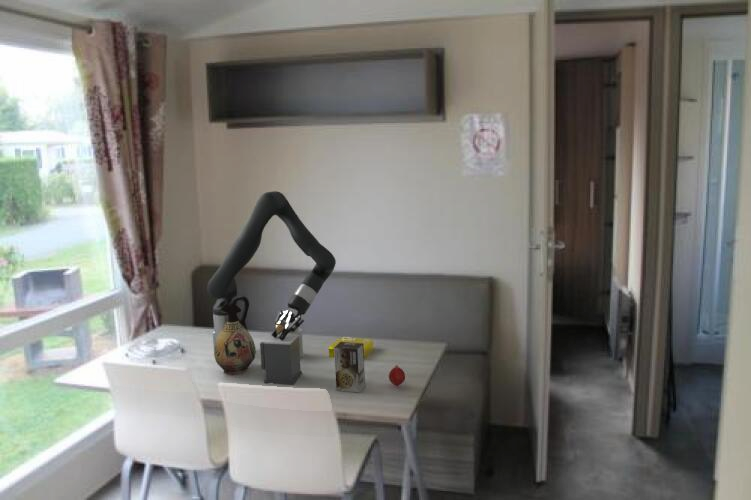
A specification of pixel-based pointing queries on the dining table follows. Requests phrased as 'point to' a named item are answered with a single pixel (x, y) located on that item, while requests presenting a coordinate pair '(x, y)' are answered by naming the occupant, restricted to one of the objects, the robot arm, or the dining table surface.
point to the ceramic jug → (234, 339)
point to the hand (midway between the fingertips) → (276, 337)
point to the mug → (299, 331)
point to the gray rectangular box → (281, 359)
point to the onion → (396, 376)
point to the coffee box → (349, 367)
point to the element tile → (366, 342)
